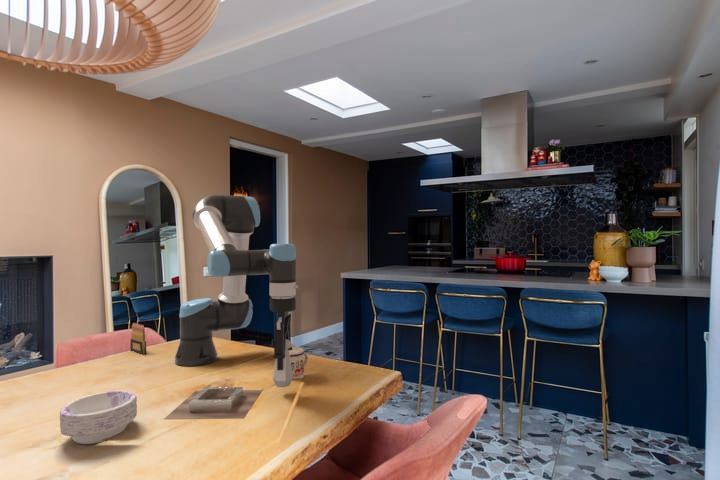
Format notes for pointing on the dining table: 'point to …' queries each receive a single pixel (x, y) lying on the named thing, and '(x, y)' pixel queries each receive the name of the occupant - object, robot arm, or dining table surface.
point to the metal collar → (203, 404)
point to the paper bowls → (98, 416)
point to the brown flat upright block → (138, 339)
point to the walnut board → (236, 413)
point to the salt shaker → (288, 369)
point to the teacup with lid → (297, 361)
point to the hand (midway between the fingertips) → (283, 376)
